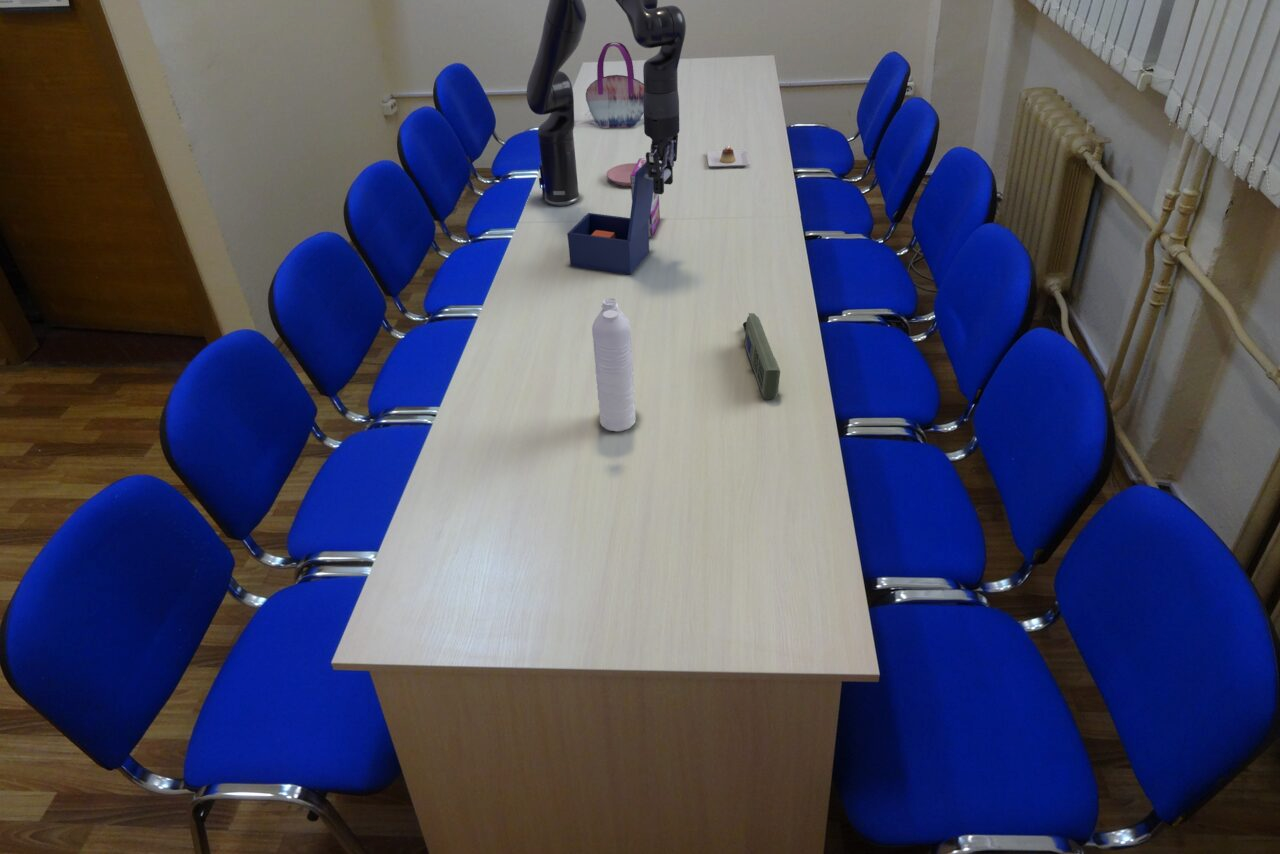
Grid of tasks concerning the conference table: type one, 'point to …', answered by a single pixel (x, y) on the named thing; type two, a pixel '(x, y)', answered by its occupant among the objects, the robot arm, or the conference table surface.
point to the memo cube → (603, 234)
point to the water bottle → (614, 367)
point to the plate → (621, 174)
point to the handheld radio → (761, 357)
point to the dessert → (728, 158)
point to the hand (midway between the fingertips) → (663, 188)
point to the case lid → (642, 199)
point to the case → (607, 244)
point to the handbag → (615, 95)
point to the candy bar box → (655, 201)
